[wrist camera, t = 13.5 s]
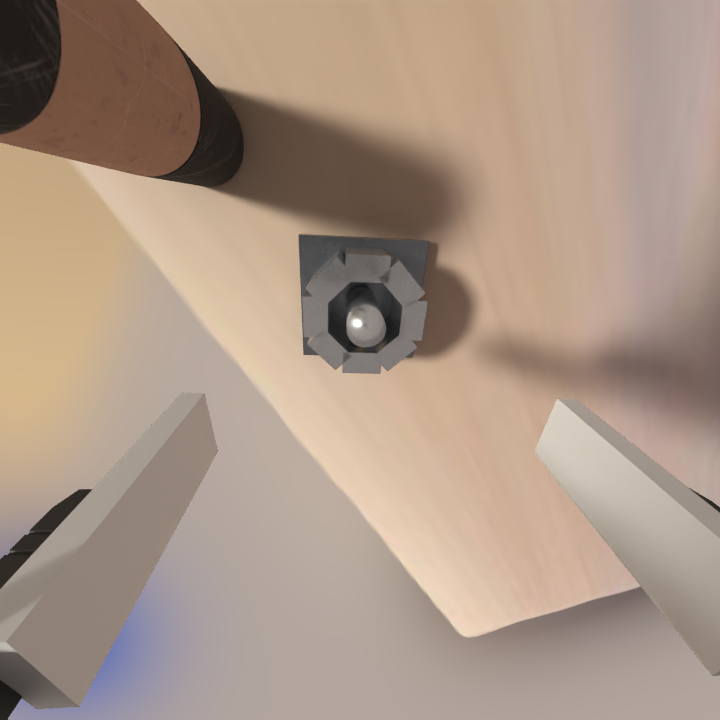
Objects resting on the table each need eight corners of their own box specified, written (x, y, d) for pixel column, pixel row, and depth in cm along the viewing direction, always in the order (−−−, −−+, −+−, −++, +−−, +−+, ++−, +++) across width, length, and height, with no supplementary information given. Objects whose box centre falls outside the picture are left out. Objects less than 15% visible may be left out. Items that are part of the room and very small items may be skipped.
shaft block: (301, 233, 27) (280, 239, 19) (424, 240, 28) (459, 248, 19) (305, 349, 32) (290, 394, 24) (409, 351, 33) (431, 397, 25)
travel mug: (263, 172, 25) (49, 48, 7) (185, 203, 26) (-189, 160, 8) (218, 59, 22) (-400, -723, 4) (130, 97, 22) (-742, -403, 4)
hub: (310, 245, 26) (300, 251, 21) (416, 250, 27) (434, 258, 22) (312, 345, 31) (305, 371, 25) (404, 348, 31) (416, 374, 26)
